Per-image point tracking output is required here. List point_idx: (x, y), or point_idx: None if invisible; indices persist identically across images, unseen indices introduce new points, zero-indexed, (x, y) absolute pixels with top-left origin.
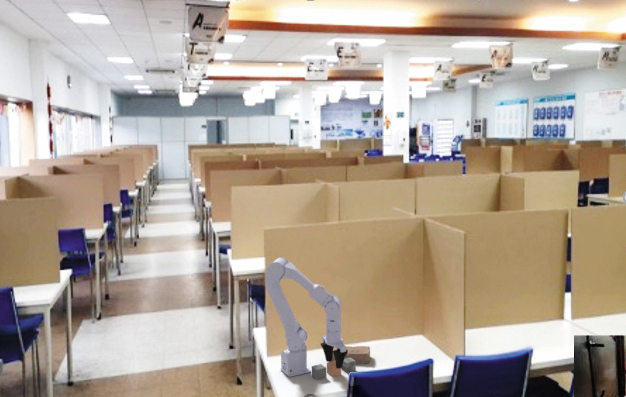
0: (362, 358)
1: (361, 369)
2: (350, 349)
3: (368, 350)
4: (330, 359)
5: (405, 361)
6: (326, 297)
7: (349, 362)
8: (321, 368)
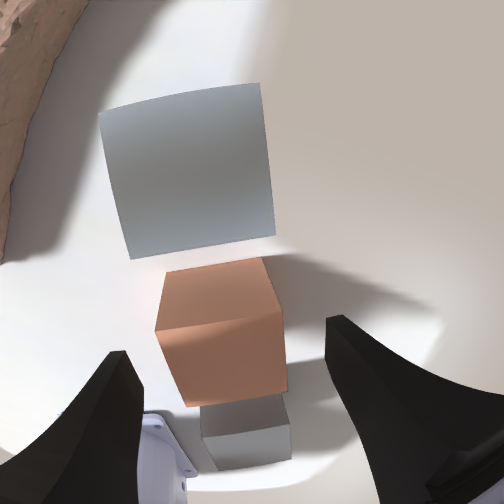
0: None
1: (234, 31)
2: None
3: None
4: (127, 373)
5: None
6: None
7: (270, 190)
8: (286, 443)
